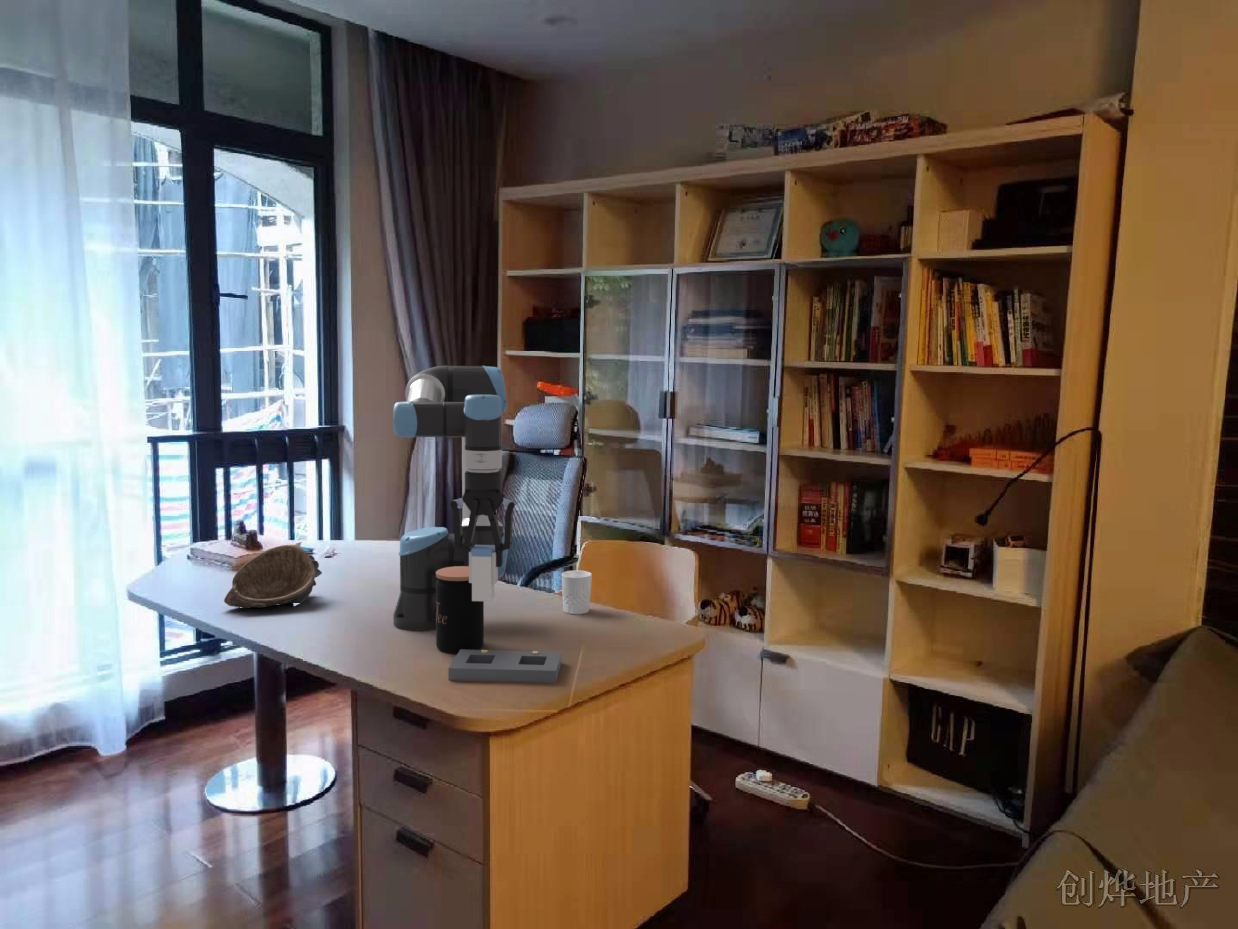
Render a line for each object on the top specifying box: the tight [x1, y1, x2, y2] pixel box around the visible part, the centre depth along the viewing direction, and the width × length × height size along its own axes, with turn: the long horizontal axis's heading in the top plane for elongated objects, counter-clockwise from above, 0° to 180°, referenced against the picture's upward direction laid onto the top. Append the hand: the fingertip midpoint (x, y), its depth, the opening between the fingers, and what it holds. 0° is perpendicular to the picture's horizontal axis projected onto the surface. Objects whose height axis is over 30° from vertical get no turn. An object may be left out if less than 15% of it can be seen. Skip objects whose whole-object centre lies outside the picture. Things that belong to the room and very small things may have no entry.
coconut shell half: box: [223, 544, 322, 609], centre depth 242 cm, size 15×16×25 cm
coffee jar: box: [435, 566, 485, 655], centre depth 207 cm, size 11×11×18 cm
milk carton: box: [472, 545, 496, 602], centre depth 190 cm, size 4×4×11 cm
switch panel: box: [447, 649, 562, 684], centre depth 192 cm, size 22×12×3 cm, turn 88°
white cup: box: [561, 569, 593, 615], centre depth 239 cm, size 8×8×10 cm
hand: (483, 581), depth 190 cm, fingers closed on milk carton, 4 cm apart
